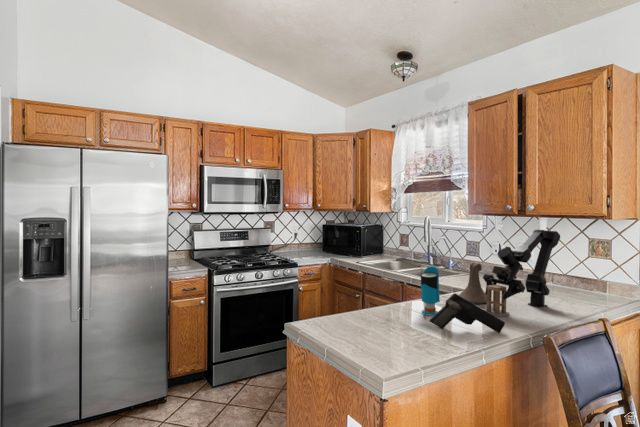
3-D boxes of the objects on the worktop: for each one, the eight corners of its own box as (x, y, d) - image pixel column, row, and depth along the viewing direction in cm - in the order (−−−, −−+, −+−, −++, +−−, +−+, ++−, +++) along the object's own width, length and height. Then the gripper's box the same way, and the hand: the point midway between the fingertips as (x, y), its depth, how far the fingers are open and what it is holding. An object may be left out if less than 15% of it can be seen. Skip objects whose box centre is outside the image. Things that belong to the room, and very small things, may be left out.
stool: (494, 309, 176) (495, 284, 176) (505, 312, 171) (506, 286, 170) (486, 311, 173) (487, 285, 173) (497, 314, 168) (498, 288, 168)
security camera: (416, 267, 170) (427, 265, 178) (416, 313, 171) (426, 309, 178) (434, 269, 165) (444, 267, 172) (433, 317, 165) (443, 312, 172)
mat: (494, 309, 179) (494, 307, 179) (515, 315, 169) (515, 313, 169) (478, 311, 175) (478, 310, 175) (498, 318, 165) (498, 316, 165)
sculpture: (497, 301, 194) (498, 263, 194) (478, 306, 184) (479, 266, 184) (468, 295, 208) (469, 259, 207) (449, 299, 198) (450, 261, 198)
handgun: (485, 355, 146) (505, 323, 144) (430, 321, 150) (449, 290, 149) (484, 352, 149) (504, 321, 147) (429, 320, 153) (448, 289, 151)
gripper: (485, 257, 182) (469, 281, 177) (521, 262, 165) (505, 289, 160) (496, 272, 185) (480, 296, 180) (532, 278, 169) (516, 305, 164)
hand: (494, 296), depth 171 cm, fingers open, 9 cm apart
